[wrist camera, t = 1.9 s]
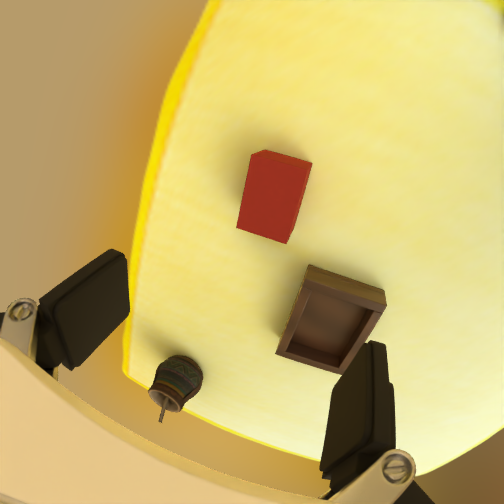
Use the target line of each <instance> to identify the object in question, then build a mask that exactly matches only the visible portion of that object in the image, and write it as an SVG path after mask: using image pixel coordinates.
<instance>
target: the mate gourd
mask: <svg viewBox="0 0 504 504" xmlns="http://www.w3.org/2000/svg"><path fill="white" fill-rule="evenodd" d="M202 380H203V373H202V371H201V369H200V368H199V366H198V365H197V364H196V363H195V362H194V361H193V360H191V359H190V358H187V357H185V356H172V357H169V358H168V359H167V360H165V361H164V362H162V363H161V364H160V365H159V366H158V368H157V370H156V374H155V378H154V381H153V385H152V386H151V388H150V389H149V390H148V393H149V395H150V397H151V399H152V400H153V401H154V402H155V403H156V404H158V405H159V406H161V407H162V410H161V414H160V418H159V422H161V423H162V419H163V416H164V413H165V409H166V410H168V411H171V412H180V411H181V409H182V407H183V406H184V404H185V403H186V402H187V401H188V400H189V399H191V398H192V397H194V396H195V395H196V394H197V393H198V392H199V390H200V388H201V386H202Z"/></svg>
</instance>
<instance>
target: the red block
mask: <svg viewBox="0 0 504 504" xmlns="http://www.w3.org/2000/svg"><path fill="white" fill-rule="evenodd" d="M311 167H312V163H311V162H307V161H304V160H301V159H297V158H294V157H290V156H287V155H283V154H279V153H276V152H272V151H268V150H262V151H260V152H257V153H254V154H252V155H251V159H250V164H249V169H248V173H247V178H246V183H245V188H244V192H243V197H242V202H241V207H240V212H239V217H238V222H237V227H236V228H238V229H242V230H245V231H248V232H251V233H254V234H257V235H260V236H263V237H266V238H269V239H272V240H275V241H278V242H281V243H284V244H287V242H288V239H289V237H290V235H291V233H292V231H293V229H294V226H295V223H296V219H297V216H298V213H299V209H300V206H301V202H302V199H303V195H304V192H305V188H306V185H307V181H308V178H309V174H310V170H311Z"/></svg>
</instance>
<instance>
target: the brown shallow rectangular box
mask: <svg viewBox="0 0 504 504" xmlns="http://www.w3.org/2000/svg"><path fill="white" fill-rule="evenodd" d="M386 307H387V304H386V297H385V291H384V290H382V289H379V288H376V287H373V286H370V285H367V284H364V283H361V282H358V281H356V280H353V279H350V278H347V277H344V276H341V275H338V274H335V273H332V272H329V271H326V270H323V269H320V268H318V267H315V266H312V265H308V268H307V271H306V274H305V276H304V279H303V282H302V285H301V287H300V290H299V293H298V295H297V298H296V300H295V303H294V306H293V308H292V311H291V313H290V316H289V318H288V321H287V323H286V326H285V329H284V331H283V333H282V336H281V338H280V341H279V344H278V347H277V350H276V353H275V354H277V355H280V356H282V357H285V358H288V359H291V360H294V361H297V362H301V363H304V364H307V365H310V366H313V367H316V368H320V369H323V370H326V371H330V372H333V373H337V374H340V375H343V373H344V372H345V370H346V369H347V367H348V366H349V364H350V363H351V361H352V360H353V358H354V357H355V355H356V354H357V352H358V351H359V349H360V347H361V346H362V344H363V343H365V341H366V340H367V338H368V336H369V335H370V333H371V332H372V330H373V328H374V327H375V325H376V323H377V322H378V320H379V319H380V317H381V315H382V313H383V312H384V310H385V308H386Z"/></svg>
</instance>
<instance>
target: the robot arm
mask: <svg viewBox="0 0 504 504" xmlns="http://www.w3.org/2000/svg"><path fill="white" fill-rule="evenodd" d="M39 302H40V305H38V306H37V305H36V302H35V301H34V300H32V299H30V298H20V299H17V300H15V301H14V302H12V303H11V304H10V305H9V306H8V308H7V310H6V312H3V313H0V504H435V503H434V502H433V501H432V500H431V499H430V498H429V497H428V496H427V495H426V493H425V492H424V491H423V490H422V489H421V488H420V487H419V486H418V485H417V483H416V482H415V481H414V480H413V479H414V477H415V473H416V465H415V462H414V459H413V458H412V457H411V456H410V454H408V453H407V452H405V451H403V450H400V449H396V427H395V401H394V388H393V384H392V383H390V382H389V374H388V362H387V351H386V345H385V344H383V343H379V342H376V341H372V340H370V341H369V342H368V343H363V344H362V346H361V347H360V349H359V351H358V352H357V354H356V355H355V357H354V358H353V360H352V361H351V363H350V364H349V366H348V367H347V369H346V370H345V372H344V373H343V375H342V376H341V377H340V379H339V380H338V382H337V383H336V385H335V386H334V388H333V390H332V394H331V401H330V409H329V415H328V422H327V428H326V435H325V440H324V446H323V452H322V457H321V462H320V471H323V475H322V479H328V480H331V481H330V488H331V489H329V490H328V491H327V492H325V493H324V494H323V495H321V496H320V497H318V498H313V497H309V496H304V495H299V494H295V493H290V492H286V491H282V490H278V489H273V488H270V487H267V486H263V485H259V484H256V483H253V482H249V481H246V480H243V479H239V478H236V477H233V476H230V475H227V474H225V473H222V472H219V471H216V470H213V469H211V468H208V467H206V466H203V465H201V464H198V463H196V462H193V461H191V460H189V459H186V458H184V457H182V456H179V455H177V454H175V453H173V452H171V451H169V450H166V449H164V448H162V447H160V446H158V445H156V444H154V443H152V442H150V441H149V440H146V439H145V438H143V437H141V436H139V435H137V434H136V433H134V432H132V431H130V430H128V429H127V428H125V427H123V426H122V425H120V424H118V423H117V422H115V421H113V420H112V419H110V418H109V417H107V416H105V415H104V414H102V413H101V412H99V411H98V410H96V409H95V408H93V407H92V406H90V405H89V404H87V403H86V402H84V401H83V400H82V399H80V398H79V397H77V396H76V395H75V394H73V393H72V392H71V391H69V390H68V389H67V388H65V387H64V386H63V385H61V384H60V383H59V382H58V366H59V364H60V363H61V362H62V364H63V365H64V366H65V367H66V368H68V369H69V370H71V371H72V370H73V369H74V368H75V367H78V366H80V365H81V364H82V363H83V362H84V361H85V360H86V359H87V358H88V357H89V356H90V355H91V354H92V353H93V352H94V350H95V349H96V348H97V347H98V346H99V345H100V344H101V343H102V342H103V341H104V340H105V339H106V338H107V337H108V336H109V335H110V334H111V333H112V332H113V331H114V330H115V329H116V328H117V327H118V326H119V325H120V323H122V322H123V321H124V320H125V319H126V318H127V316H128V315H129V312H130V302H129V288H128V270H127V259H126V258H125V255H124V254H123V253H121V252H119V251H116V250H114V249H110V250H108V251H106V252H104V253H103V254H102V255H100V256H98V257H97V258H96V259H94V260H93V261H91V262H90V263H89V264H87V265H85V266H84V267H83V268H81V269H80V270H78V271H77V272H75V273H74V274H73V275H71V276H70V277H68V278H67V279H66V280H64V281H63V282H62V283H60V284H59V285H57V286H56V287H55V288H53V289H52V290H51V291H50V292H48V293H47V294H45V295H44V296H43V297H41V298H40V299H39Z"/></svg>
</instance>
